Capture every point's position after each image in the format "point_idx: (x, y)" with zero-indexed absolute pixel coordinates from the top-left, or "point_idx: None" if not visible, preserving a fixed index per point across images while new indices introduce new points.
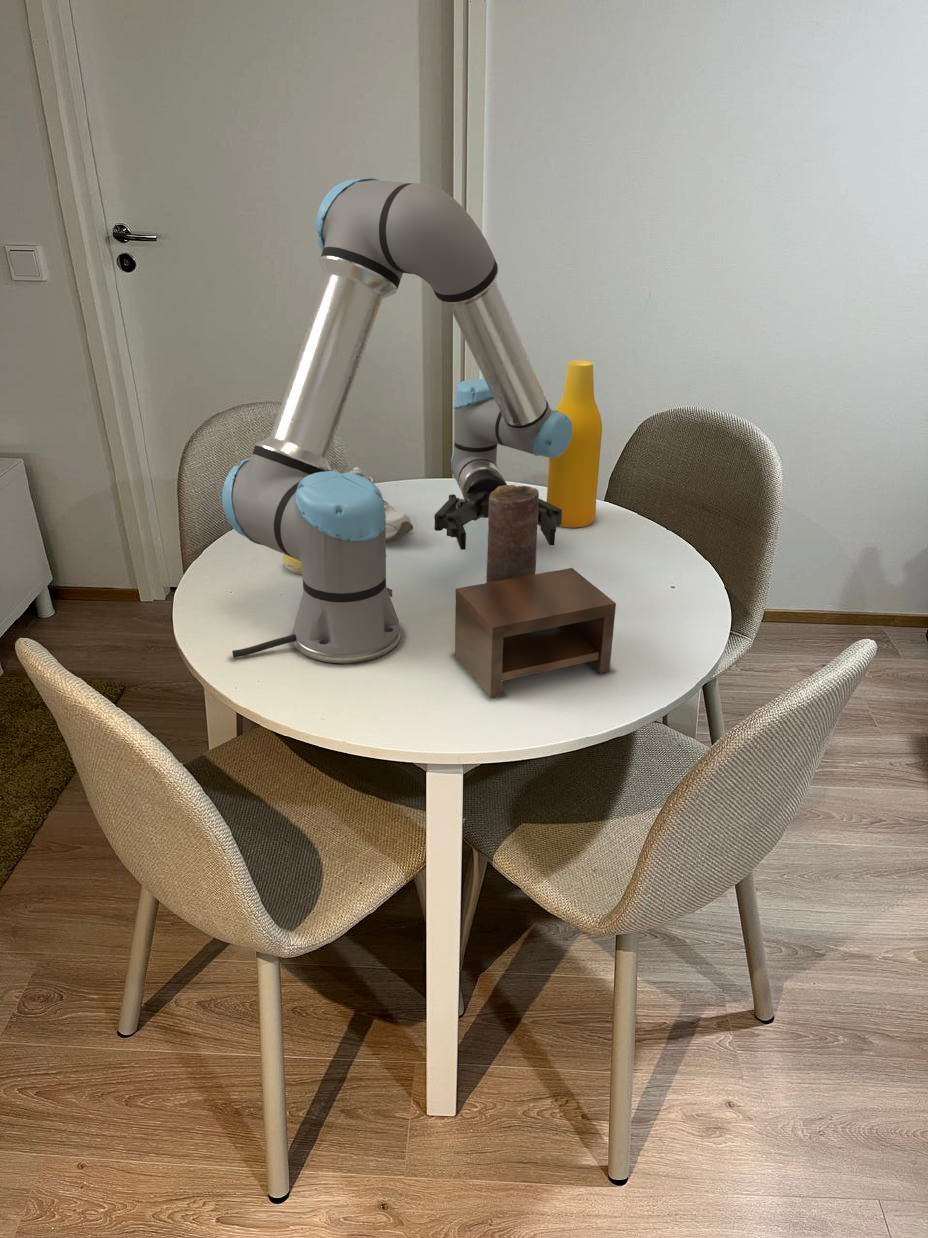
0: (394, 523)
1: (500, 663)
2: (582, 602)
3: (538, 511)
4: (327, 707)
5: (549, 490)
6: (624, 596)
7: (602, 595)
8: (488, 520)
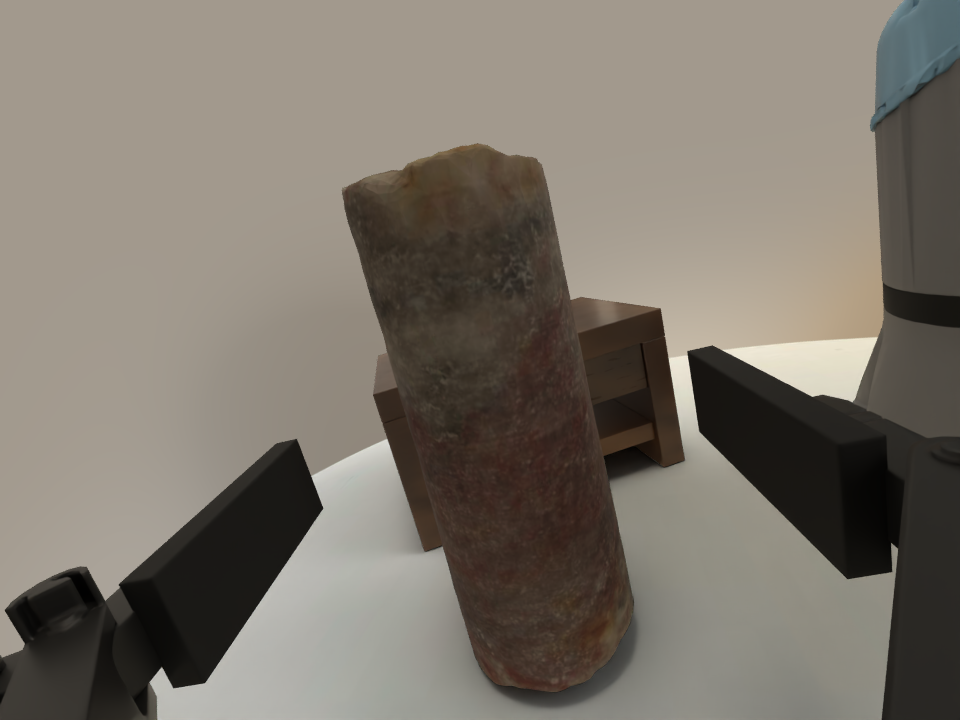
0: None
1: None
2: None
3: (103, 650)
4: (852, 358)
5: None
6: None
7: (383, 359)
8: (563, 267)
